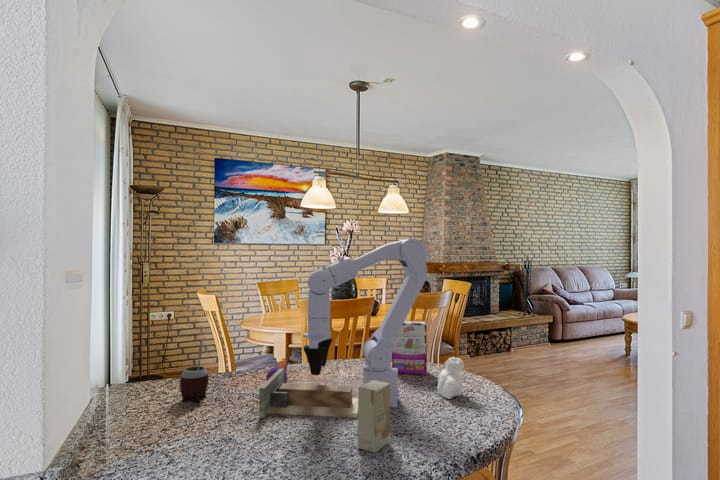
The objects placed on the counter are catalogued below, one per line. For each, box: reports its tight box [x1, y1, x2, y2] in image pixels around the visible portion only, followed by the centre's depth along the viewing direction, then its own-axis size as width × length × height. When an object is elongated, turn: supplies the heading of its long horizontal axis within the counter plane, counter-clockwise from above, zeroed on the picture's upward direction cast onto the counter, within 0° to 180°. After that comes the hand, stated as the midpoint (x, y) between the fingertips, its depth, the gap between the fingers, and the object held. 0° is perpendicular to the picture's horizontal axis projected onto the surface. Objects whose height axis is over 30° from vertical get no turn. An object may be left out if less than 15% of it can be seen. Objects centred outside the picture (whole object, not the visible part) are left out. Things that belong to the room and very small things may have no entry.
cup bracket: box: [258, 369, 358, 419], centre depth 105 cm, size 23×16×7 cm
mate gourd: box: [179, 337, 210, 404], centre depth 110 cm, size 8×8×15 cm
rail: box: [279, 383, 353, 408], centre depth 105 cm, size 18×4×4 cm, turn 84°
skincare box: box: [357, 380, 391, 453], centre depth 85 cm, size 6×4×12 cm
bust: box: [436, 356, 465, 400], centre depth 115 cm, size 12×8×11 cm
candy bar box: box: [391, 320, 428, 376], centre depth 135 cm, size 11×5×16 cm, turn 81°
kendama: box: [265, 360, 288, 383], centre depth 127 cm, size 6×6×20 cm
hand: (318, 370), depth 107 cm, fingers open, 7 cm apart
